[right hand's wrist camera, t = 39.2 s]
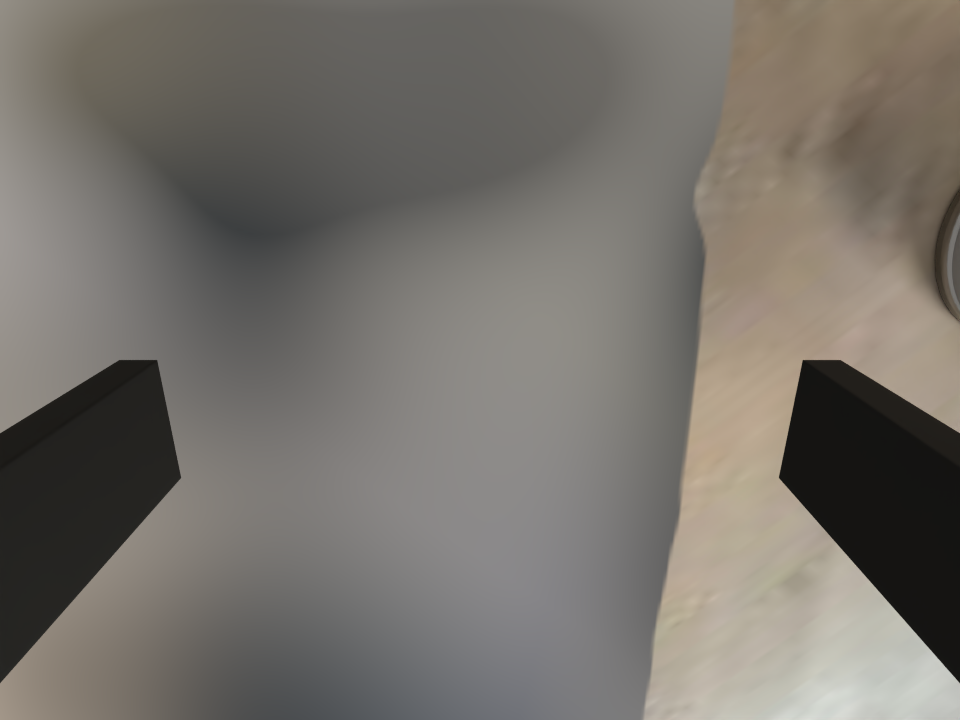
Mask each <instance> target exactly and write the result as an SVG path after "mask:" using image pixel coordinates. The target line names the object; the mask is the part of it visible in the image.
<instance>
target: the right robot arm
mask: <svg viewBox="0 0 960 720" xmlns="http://www.w3.org/2000/svg"><path fill="white" fill-rule="evenodd" d="M935 272H936V279H937V284H938V288H939V291H940V294H941V296H942V299H943V301H944V302H945V304H946V306H947V308H948V309H949V310H950V312H951V313H952V314H953V315H954V316H955V318H956V319H957V320H958V321H960V190H959V192H958V193H957V195H956V197H955V198H954V200H953V202H952V204H951V205H950V208H949V210H948V212H947V214H946V216H945V219H944V221H943V224H942V227H941V230H940V233H939V237H938V241H937V247H936V256H935ZM180 478H181V475H180V470H179V465H178V460H177V456H176V451H175V446H174V441H173V436H172V431H171V426H170V421H169V416H168V411H167V406H166V402H165V397H164V392H163V387H162V382H161V377H160V372H159V367H158V362H157V360H119V361H117V362H116V363H114V364H112V365H111V366H109V367H107V368H106V369H104V370H103V371H101V372H99V373H98V374H96V375H95V376H93V377H91V378H90V379H88V380H86V381H85V382H83V383H82V384H80V385H78V386H77V387H75V388H73V389H72V390H70V391H69V392H67V393H65V394H64V395H62V396H60V397H59V398H57V399H55V400H54V401H52V402H51V403H49V404H47V405H46V406H44V407H42V408H41V409H39V410H37V411H36V412H34V413H33V414H31V415H29V416H28V417H26V418H24V419H23V420H21V421H20V422H18V423H16V424H15V425H13V426H11V427H10V428H8V429H7V430H5V431H3V432H2V433H0V683H1V681H2V680H3V679H4V678H5V677H6V676H7V675H8V674H9V672H10V671H11V670H12V669H13V668H14V667H15V666H16V664H17V663H18V662H19V661H20V660H21V659H22V658H23V657H24V655H25V654H26V653H27V652H28V651H29V650H30V649H31V647H32V646H33V645H34V644H35V643H36V642H37V641H38V639H39V638H40V637H41V636H42V635H43V634H44V633H45V632H46V630H47V629H48V628H49V627H50V626H51V625H52V624H53V622H54V621H55V620H56V619H57V618H58V617H59V616H60V615H61V613H62V612H63V611H64V610H65V609H66V608H67V607H68V605H69V604H70V603H71V602H72V601H73V600H74V599H75V598H76V596H77V595H78V594H79V593H80V592H81V591H82V589H83V588H84V587H85V586H86V585H87V584H88V583H89V582H90V581H91V579H92V578H93V577H94V576H95V575H96V574H97V573H98V571H99V570H100V569H101V568H102V567H103V566H104V565H105V563H106V562H107V561H108V560H109V559H110V558H111V557H112V556H113V554H114V553H115V552H116V551H117V550H118V549H119V548H120V546H121V545H122V544H123V543H124V542H125V541H126V540H127V539H128V537H129V536H130V535H131V534H132V533H133V532H134V531H135V529H136V528H137V527H138V526H139V525H140V524H141V523H142V522H143V520H144V519H145V518H146V517H147V516H148V515H149V514H150V512H151V511H152V510H153V509H154V508H155V507H156V506H157V505H158V503H159V502H160V501H161V500H162V499H163V498H164V497H165V495H166V494H167V493H168V492H169V491H170V490H171V489H172V488H173V486H174V485H175V484H176V483H177V482H178V481H179V480H180ZM779 478H780V480H781V481H782V482H783V483H784V484H785V485H786V486H787V488H788V489H789V490H790V491H791V492H792V493H793V494H794V495H795V497H796V498H797V499H798V500H799V501H800V502H801V503H802V505H803V506H804V507H805V508H806V509H807V510H808V511H809V512H810V514H811V515H812V516H813V517H814V518H815V519H816V520H817V522H818V523H819V524H820V525H821V526H822V527H823V528H824V529H825V531H826V532H827V533H828V534H829V535H830V536H831V537H832V539H833V540H834V541H835V542H836V543H837V544H838V545H839V547H840V548H841V549H842V550H843V551H844V552H845V553H846V554H847V556H848V557H849V558H850V559H851V560H852V561H853V562H854V564H855V565H856V566H857V567H858V568H859V569H860V570H861V571H862V573H863V574H864V575H865V576H866V577H867V578H868V579H869V581H870V582H871V583H872V584H873V585H874V586H875V587H876V588H877V590H878V591H879V592H880V593H881V594H882V595H883V596H884V598H885V599H886V600H887V601H888V602H889V603H890V604H891V605H892V607H893V608H894V609H895V610H896V611H897V612H898V613H899V615H900V616H901V617H902V618H903V619H904V620H905V621H906V623H907V624H908V625H909V626H910V627H911V628H912V629H913V630H914V632H915V633H916V634H917V635H918V636H919V637H920V638H921V640H922V641H923V642H924V643H925V644H926V645H927V646H928V647H929V649H930V650H931V651H932V652H933V653H934V654H935V655H936V657H937V658H938V659H939V660H940V661H941V662H942V663H943V664H944V666H945V667H946V668H947V669H948V670H949V671H950V672H951V674H952V675H953V676H954V677H955V678H956V679H957V680H958V682H959V683H960V433H958V432H957V431H955V430H953V429H952V428H950V427H949V426H947V425H945V424H944V423H942V422H940V421H939V420H937V419H936V418H934V417H932V416H931V415H929V414H927V413H926V412H924V411H923V410H921V409H919V408H918V407H916V406H914V405H913V404H911V403H909V402H908V401H906V400H905V399H903V398H901V397H900V396H898V395H896V394H895V393H893V392H892V391H890V390H888V389H887V388H885V387H883V386H882V385H880V384H879V383H877V382H875V381H874V380H872V379H870V378H869V377H867V376H866V375H864V374H862V373H861V372H859V371H857V370H856V369H854V368H853V367H851V366H849V365H848V364H846V363H844V362H843V361H841V360H803V362H802V367H801V372H800V377H799V382H798V387H797V392H796V397H795V401H794V406H793V411H792V416H791V421H790V426H789V431H788V436H787V441H786V446H785V451H784V455H783V460H782V465H781V470H780V475H779Z"/></svg>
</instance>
